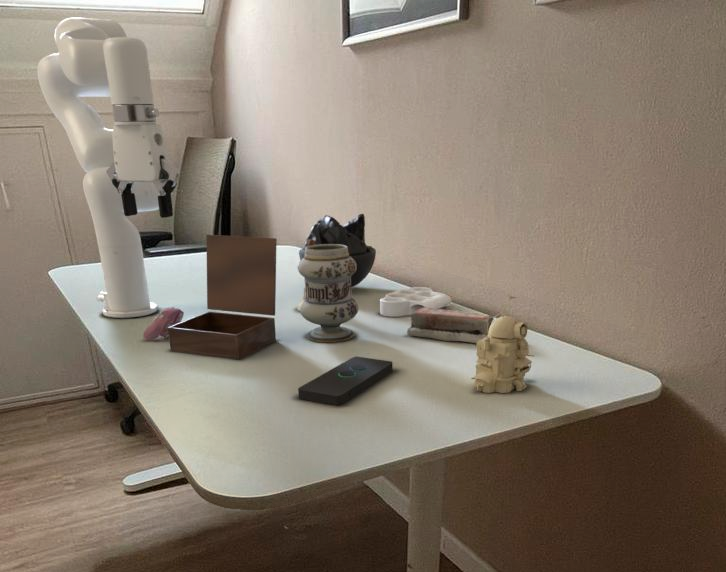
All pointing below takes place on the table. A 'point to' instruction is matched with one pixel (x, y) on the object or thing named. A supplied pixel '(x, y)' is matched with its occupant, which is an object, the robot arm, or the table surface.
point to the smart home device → (345, 380)
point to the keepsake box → (222, 334)
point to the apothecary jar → (328, 291)
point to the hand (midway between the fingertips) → (148, 215)
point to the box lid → (241, 274)
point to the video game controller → (163, 323)
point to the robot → (503, 356)
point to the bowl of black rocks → (345, 242)
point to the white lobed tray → (412, 301)
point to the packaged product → (449, 325)
